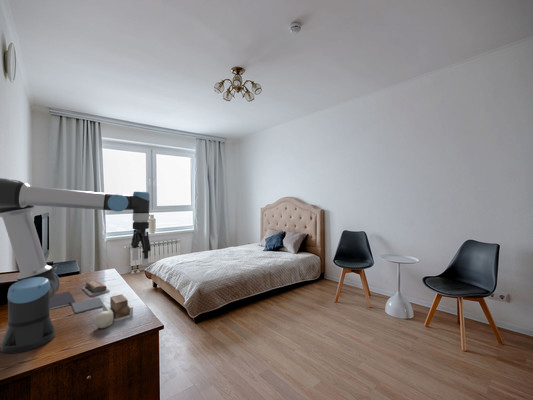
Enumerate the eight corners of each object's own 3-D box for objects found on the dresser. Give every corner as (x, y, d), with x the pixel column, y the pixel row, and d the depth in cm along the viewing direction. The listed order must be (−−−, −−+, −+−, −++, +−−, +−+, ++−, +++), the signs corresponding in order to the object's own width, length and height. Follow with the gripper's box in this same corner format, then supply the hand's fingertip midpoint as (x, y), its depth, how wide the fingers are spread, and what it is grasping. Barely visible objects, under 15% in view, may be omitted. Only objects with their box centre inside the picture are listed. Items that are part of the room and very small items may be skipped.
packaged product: (81, 282, 152) (100, 278, 159) (81, 289, 152) (100, 285, 159) (90, 288, 140) (110, 284, 148) (90, 297, 140) (110, 292, 148)
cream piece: (95, 325, 109) (95, 309, 109) (114, 322, 111) (114, 307, 111) (91, 332, 102) (91, 316, 102) (111, 329, 105) (111, 313, 105)
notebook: (40, 300, 136) (43, 312, 121) (40, 297, 136) (43, 309, 121) (69, 293, 145) (75, 304, 131) (69, 291, 145) (75, 301, 131)
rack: (110, 322, 111) (110, 313, 111) (102, 310, 123) (102, 302, 123) (133, 316, 117) (133, 307, 117) (123, 305, 129) (123, 297, 129)
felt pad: (75, 313, 119) (75, 312, 119) (71, 304, 129) (71, 303, 129) (104, 306, 127) (104, 305, 127) (98, 298, 137) (98, 297, 137)
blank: (115, 320, 113) (115, 303, 113) (110, 313, 120) (110, 296, 120) (127, 316, 116) (127, 300, 116) (121, 310, 124) (121, 294, 124)
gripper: (158, 222, 121) (157, 265, 121) (139, 219, 138) (138, 257, 138) (142, 223, 116) (141, 268, 115) (125, 220, 133) (124, 259, 133)
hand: (140, 262), depth 127 cm, fingers open, 13 cm apart
